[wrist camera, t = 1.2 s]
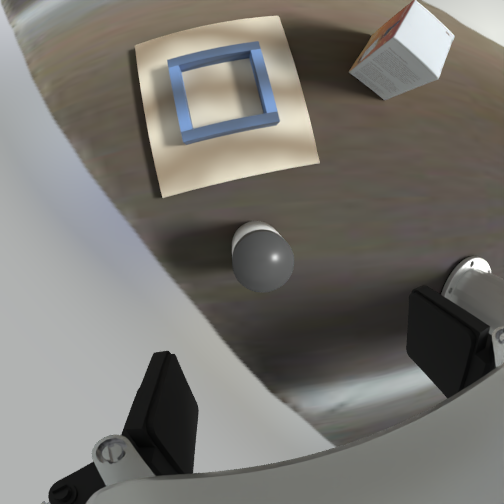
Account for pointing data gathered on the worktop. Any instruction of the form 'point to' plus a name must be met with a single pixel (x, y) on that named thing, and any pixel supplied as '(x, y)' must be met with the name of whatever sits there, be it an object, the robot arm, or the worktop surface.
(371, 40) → the small box
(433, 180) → the worktop surface
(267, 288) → the gray domed white cylinder
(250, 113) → the mount plate
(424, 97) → the worktop surface
